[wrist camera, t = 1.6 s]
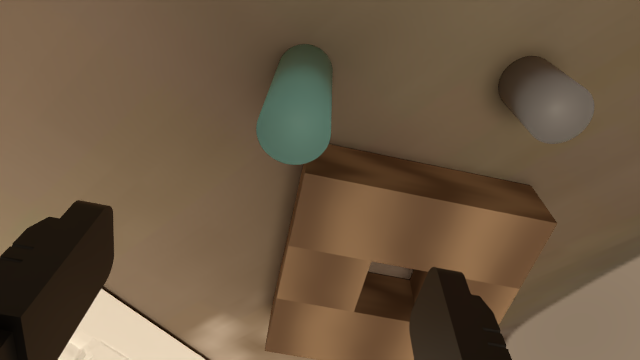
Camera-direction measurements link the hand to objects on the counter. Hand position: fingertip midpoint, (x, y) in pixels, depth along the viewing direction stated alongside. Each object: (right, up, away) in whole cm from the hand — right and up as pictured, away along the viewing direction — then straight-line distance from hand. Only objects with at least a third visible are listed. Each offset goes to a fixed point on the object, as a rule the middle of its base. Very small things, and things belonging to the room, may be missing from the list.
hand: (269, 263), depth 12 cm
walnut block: (+6, -3, +20) cm, 21 cm away
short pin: (+13, +7, +14) cm, 20 cm away
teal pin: (0, +8, +14) cm, 16 cm away
